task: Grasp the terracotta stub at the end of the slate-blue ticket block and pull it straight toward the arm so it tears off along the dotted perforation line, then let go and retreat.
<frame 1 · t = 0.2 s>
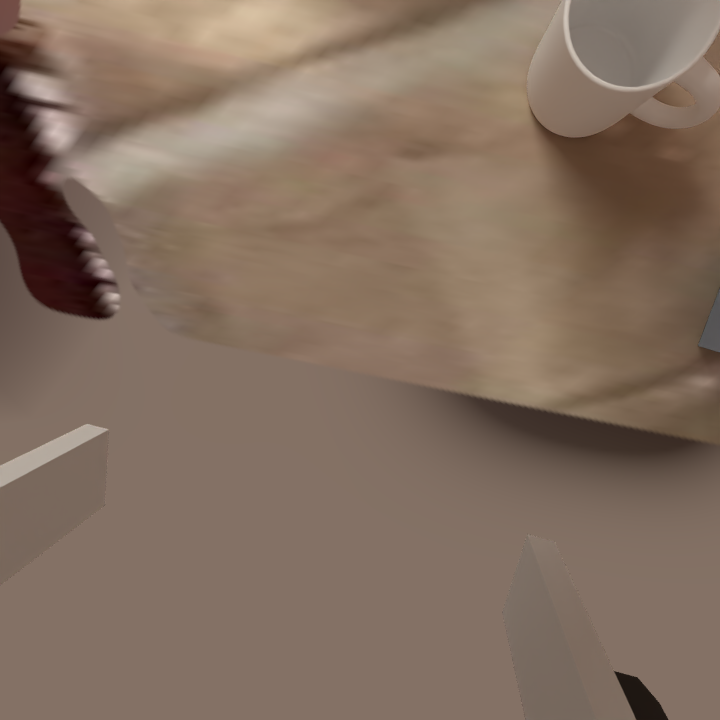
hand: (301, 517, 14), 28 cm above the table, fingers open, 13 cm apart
mug: (599, 97, 34), on the table
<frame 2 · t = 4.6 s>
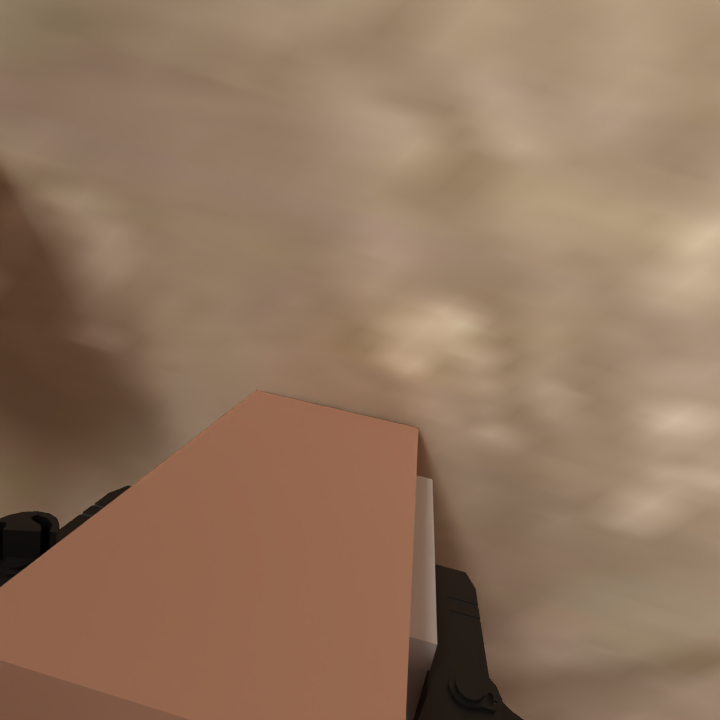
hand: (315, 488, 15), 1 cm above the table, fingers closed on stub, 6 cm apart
stub: (274, 574, 11), point 6 cm above the table, slide at 0.0 cm, touching gripper
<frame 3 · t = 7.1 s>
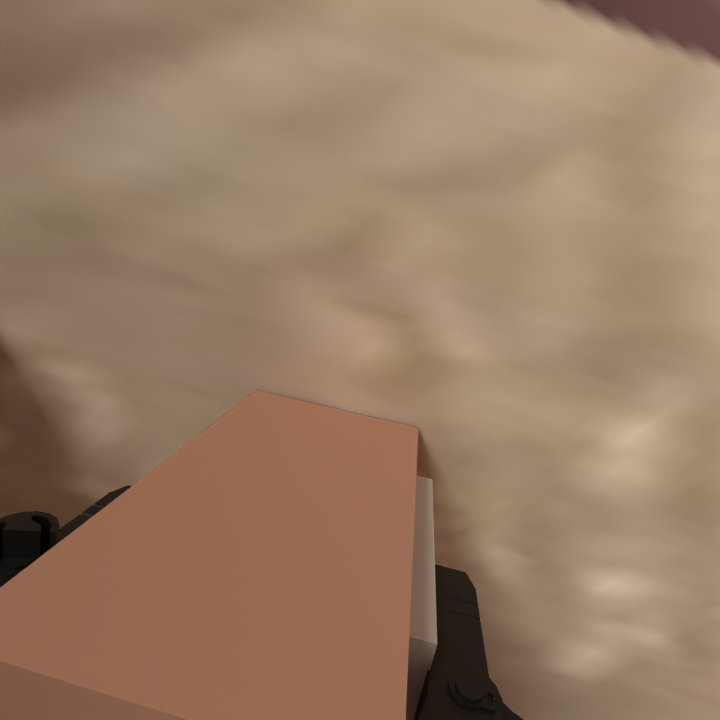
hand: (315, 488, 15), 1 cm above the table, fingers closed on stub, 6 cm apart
stub: (274, 574, 11), point 6 cm above the table, slide at 6.4 cm, touching gripper
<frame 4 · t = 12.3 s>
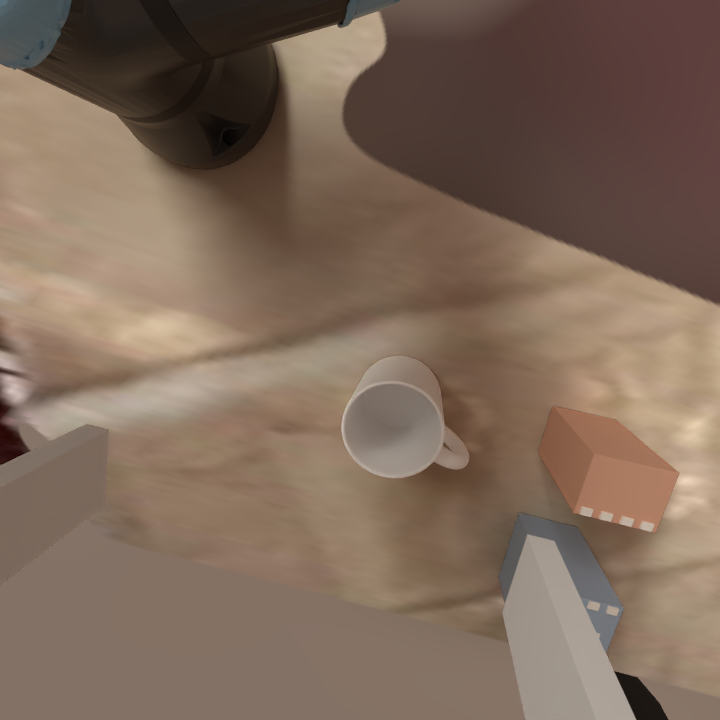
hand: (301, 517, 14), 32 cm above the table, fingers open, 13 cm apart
mug: (414, 403, 45), on the table
stub: (597, 461, 38), point 6 cm above the table, slide at 6.7 cm
ticket block: (537, 552, 47), on the table
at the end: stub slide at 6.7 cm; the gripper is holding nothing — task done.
